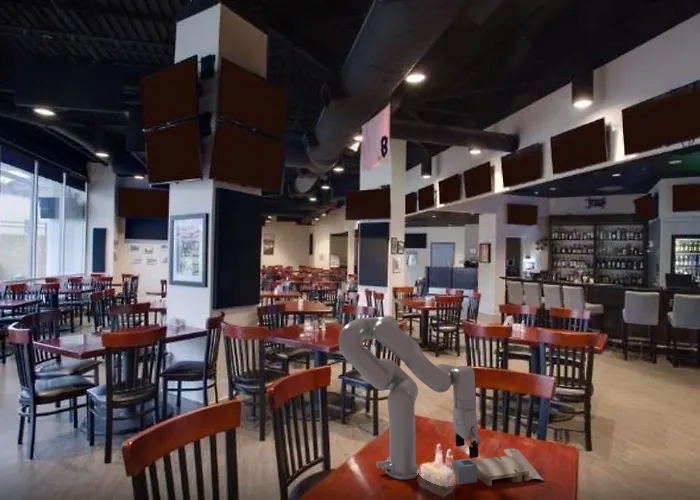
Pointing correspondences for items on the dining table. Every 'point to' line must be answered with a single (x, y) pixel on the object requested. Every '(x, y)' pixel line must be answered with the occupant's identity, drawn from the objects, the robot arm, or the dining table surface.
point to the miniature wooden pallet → (500, 469)
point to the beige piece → (523, 463)
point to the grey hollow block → (465, 471)
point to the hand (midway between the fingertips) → (466, 451)
